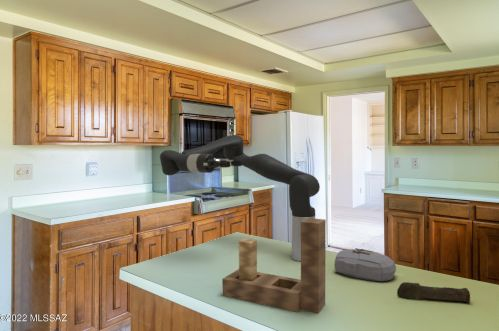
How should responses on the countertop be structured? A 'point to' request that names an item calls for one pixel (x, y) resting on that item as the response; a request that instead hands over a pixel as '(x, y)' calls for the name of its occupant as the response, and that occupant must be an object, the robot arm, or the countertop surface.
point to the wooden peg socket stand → (289, 289)
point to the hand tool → (432, 292)
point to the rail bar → (248, 259)
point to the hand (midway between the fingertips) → (235, 163)
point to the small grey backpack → (365, 265)
